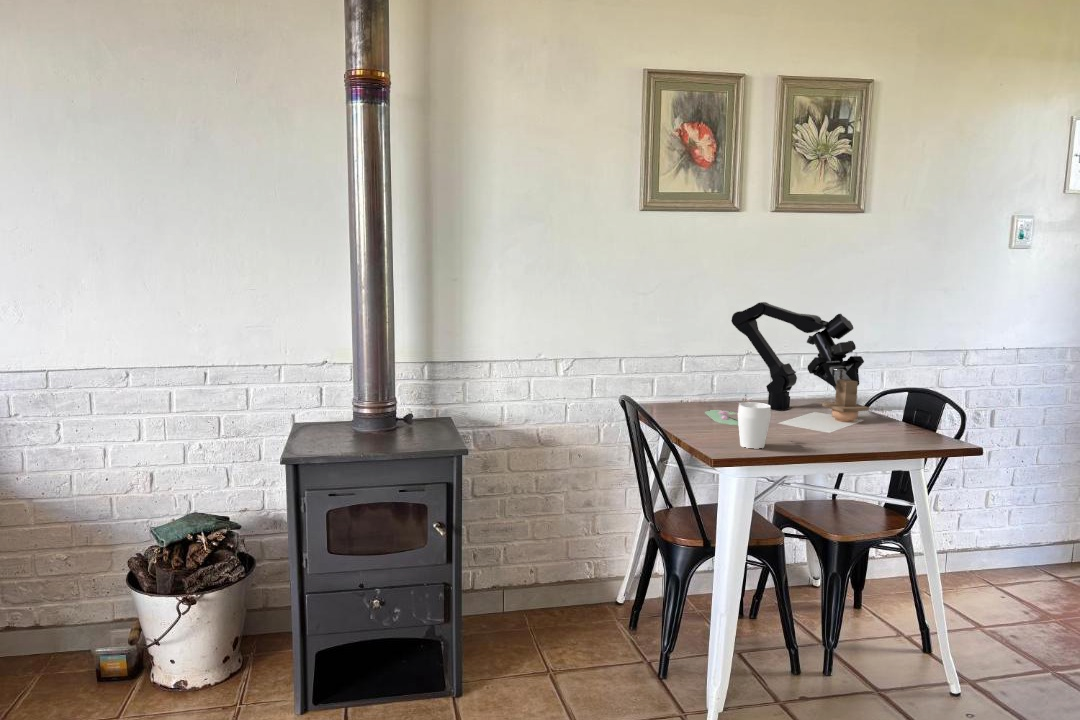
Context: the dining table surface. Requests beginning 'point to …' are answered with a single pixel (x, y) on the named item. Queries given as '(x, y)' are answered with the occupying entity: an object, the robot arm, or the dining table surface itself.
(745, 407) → the cup
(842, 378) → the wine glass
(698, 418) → the dining table surface
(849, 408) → the lid
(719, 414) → the plant
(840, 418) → the bowl
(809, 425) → the mat
